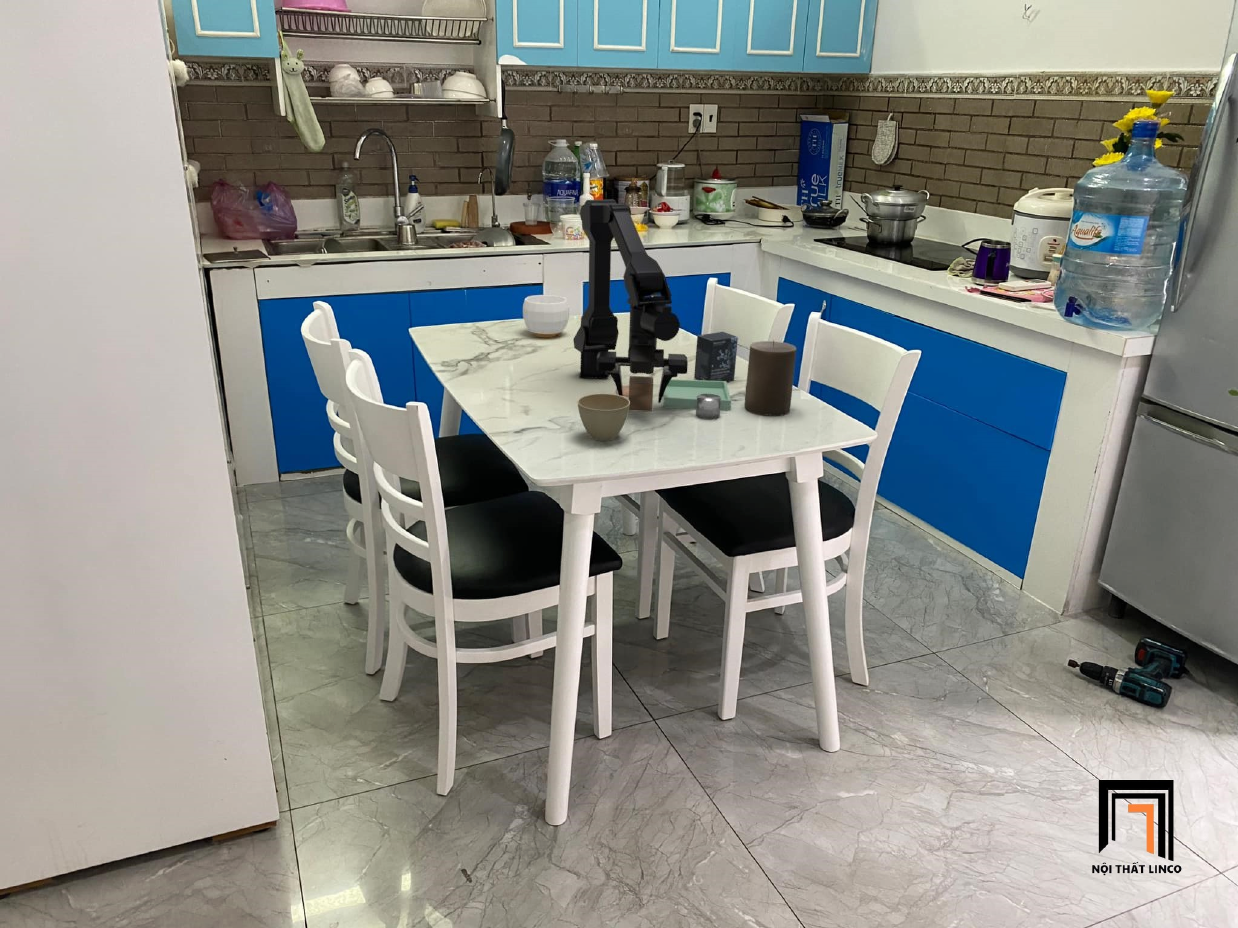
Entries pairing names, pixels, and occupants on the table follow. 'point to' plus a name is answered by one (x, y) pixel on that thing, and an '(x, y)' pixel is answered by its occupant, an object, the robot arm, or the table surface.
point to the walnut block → (640, 393)
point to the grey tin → (708, 406)
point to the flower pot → (603, 414)
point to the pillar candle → (770, 378)
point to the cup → (546, 314)
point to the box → (716, 357)
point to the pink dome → (624, 391)
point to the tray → (694, 393)
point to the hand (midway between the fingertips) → (640, 401)
